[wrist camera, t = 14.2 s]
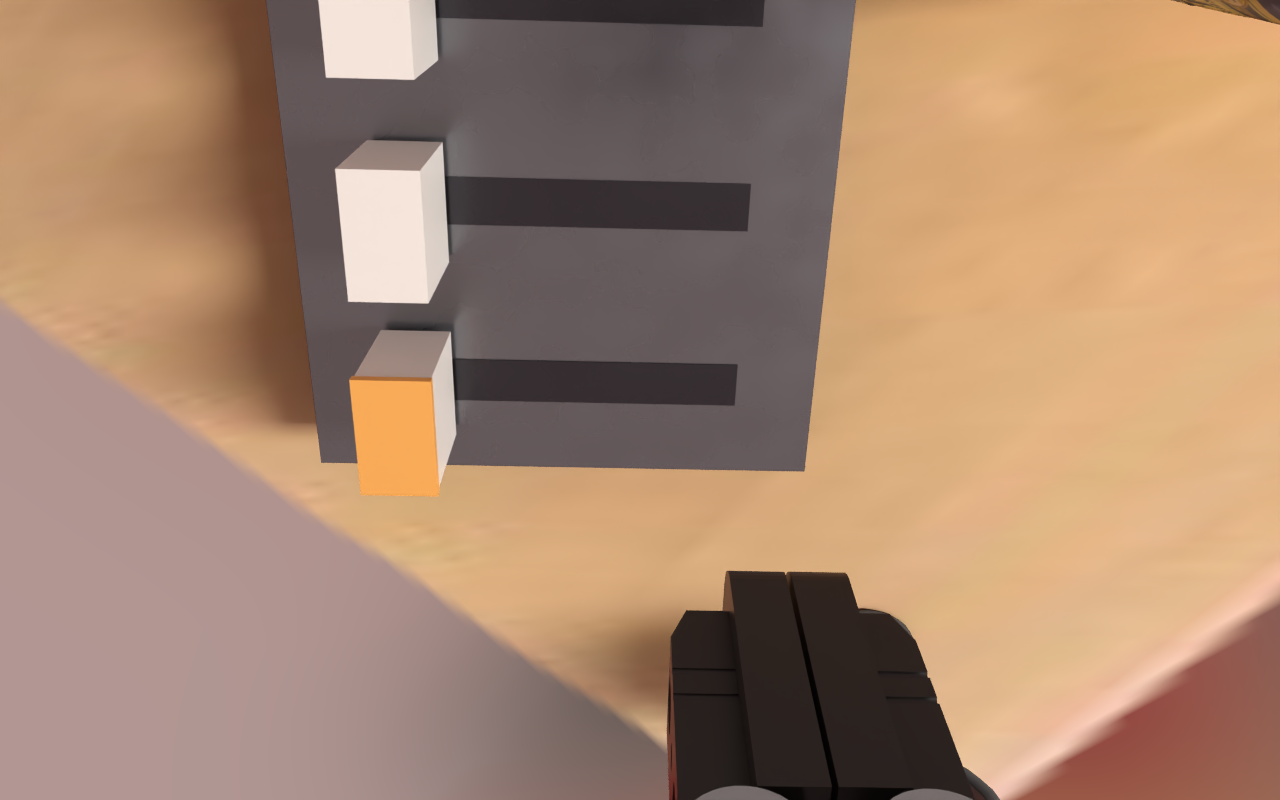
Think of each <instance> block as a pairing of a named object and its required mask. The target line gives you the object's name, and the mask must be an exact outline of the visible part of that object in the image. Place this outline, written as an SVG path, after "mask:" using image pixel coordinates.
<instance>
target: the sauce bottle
mask: <svg viewBox="0 0 1280 800" xmlns="http://www.w3.org/2000/svg"><path fill="white" fill-rule="evenodd" d="M1173 1H1177V2H1181V3H1184V4H1188V5H1191V6H1199V7H1203V8H1206V9H1211V10H1216V11H1221V12H1224V13H1228V14H1233V15H1238V16H1243V17H1249V18H1254V19H1259V20H1263V21H1267V22H1271V23H1275V24H1280V0H1173Z"/></svg>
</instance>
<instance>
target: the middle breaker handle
mask: <svg viewBox="0 0 1280 800" xmlns="http://www.w3.org/2000/svg"><path fill="white" fill-rule="evenodd" d="M335 173H336V183H337V194H338V204H339V214H340V224H341V234H342V244H343V254H344V264H345V274H346V284H347V294H348V302H382V303H429V301H430V299H431V297H432V295H433V293H434V291H435V289H436V287H437V285H438V283H439V281H440V279H441V277H442V275H443V273H444V271H445V269H446V267H447V265H448V263H449V252H448V233H447V215H446V196H445V178H444V159H443V142H423V141H384V140H366V141H365V142H364V143H363V144H362V145H361V146H360V147H359V148H358V149H357V150H355V151H354V152H353V153H352V154H351V155H350V156H349V157H348V158H347V159H345V160H344V161H343V162H342V163H341V164H340V165H339V166H338V167H337V168H335Z"/></svg>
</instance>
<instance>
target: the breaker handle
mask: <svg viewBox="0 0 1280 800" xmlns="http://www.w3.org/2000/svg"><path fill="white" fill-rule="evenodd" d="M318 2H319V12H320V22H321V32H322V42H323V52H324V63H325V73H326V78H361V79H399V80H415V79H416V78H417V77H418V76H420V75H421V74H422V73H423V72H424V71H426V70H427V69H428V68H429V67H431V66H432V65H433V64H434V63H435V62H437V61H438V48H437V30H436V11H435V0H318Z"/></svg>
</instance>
